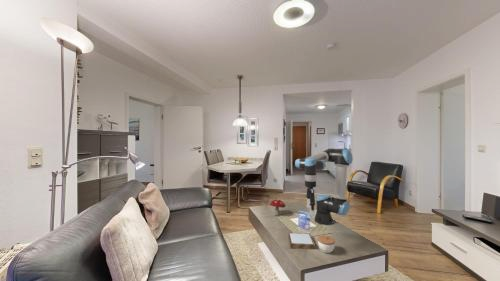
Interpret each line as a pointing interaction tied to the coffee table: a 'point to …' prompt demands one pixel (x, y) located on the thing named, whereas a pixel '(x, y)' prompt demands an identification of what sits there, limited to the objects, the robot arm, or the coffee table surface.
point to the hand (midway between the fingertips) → (310, 211)
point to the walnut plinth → (301, 241)
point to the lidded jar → (326, 243)
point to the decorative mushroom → (277, 206)
